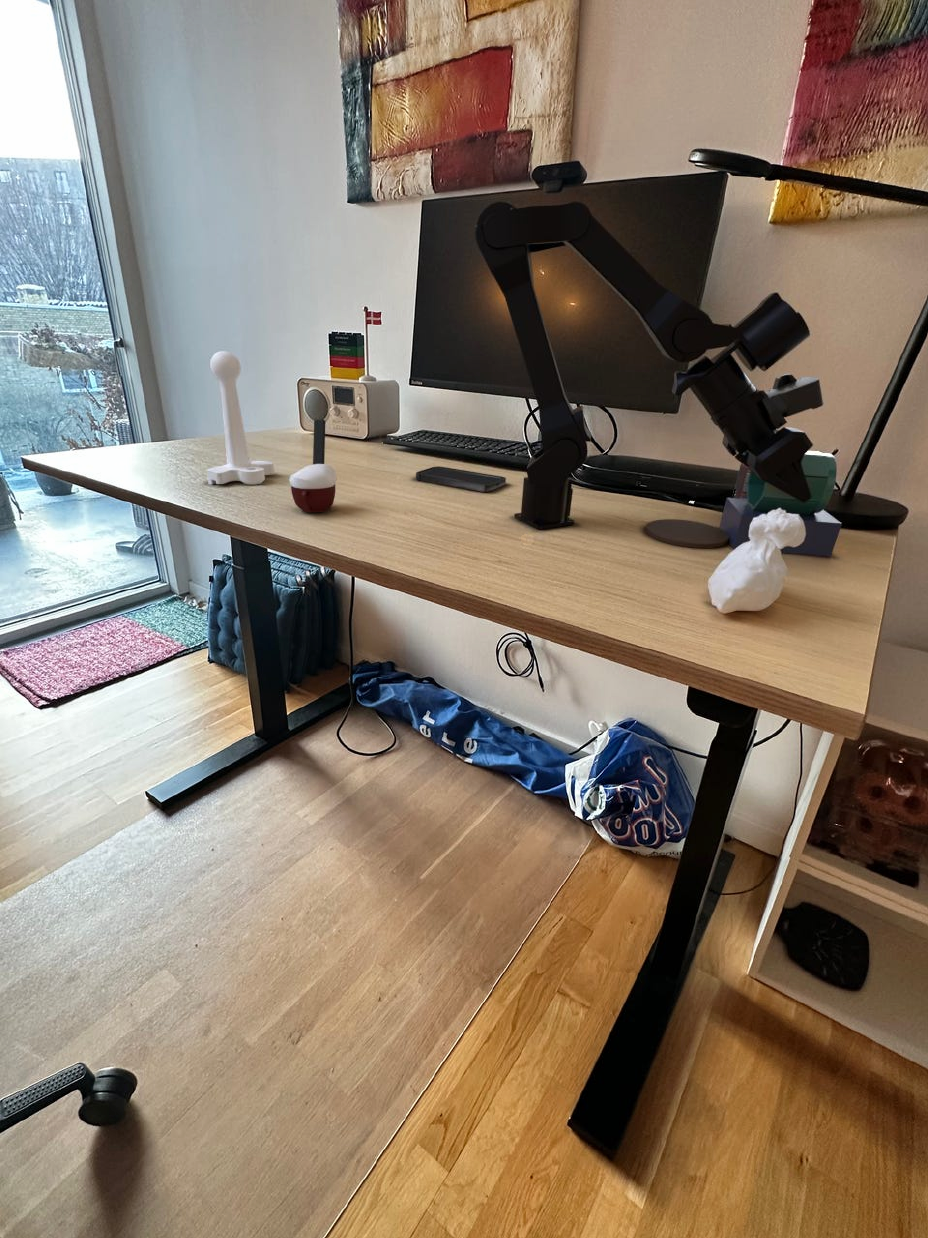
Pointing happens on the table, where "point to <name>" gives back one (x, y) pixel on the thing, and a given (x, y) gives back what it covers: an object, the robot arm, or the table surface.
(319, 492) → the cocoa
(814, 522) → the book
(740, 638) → the table surface
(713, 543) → the coaster
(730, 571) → the white tied sack
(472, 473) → the phone
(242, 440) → the joystick
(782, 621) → the table surface
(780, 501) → the cup
